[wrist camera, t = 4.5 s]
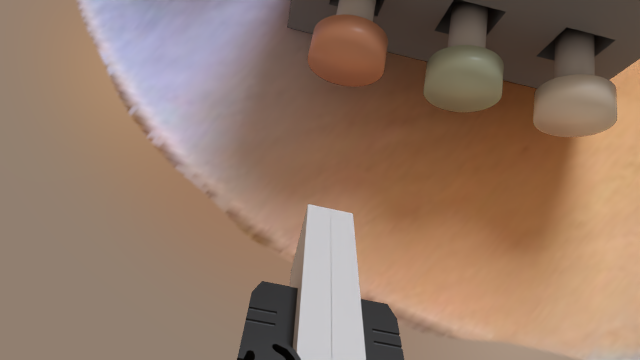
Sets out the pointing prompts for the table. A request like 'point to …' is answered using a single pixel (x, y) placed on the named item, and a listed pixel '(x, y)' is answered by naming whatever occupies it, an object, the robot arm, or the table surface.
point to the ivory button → (575, 91)
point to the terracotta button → (349, 45)
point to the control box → (502, 30)
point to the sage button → (465, 65)
